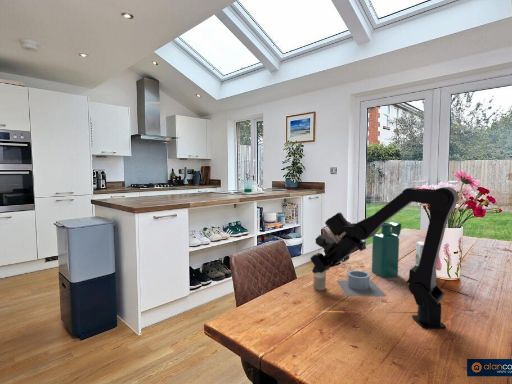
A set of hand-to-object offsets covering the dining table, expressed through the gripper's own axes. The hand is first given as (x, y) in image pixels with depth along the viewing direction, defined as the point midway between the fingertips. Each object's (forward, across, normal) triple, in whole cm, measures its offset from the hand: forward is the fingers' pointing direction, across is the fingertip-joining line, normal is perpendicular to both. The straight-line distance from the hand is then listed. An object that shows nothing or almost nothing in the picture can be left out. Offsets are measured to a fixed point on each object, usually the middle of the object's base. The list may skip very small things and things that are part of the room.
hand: (316, 270), depth 110 cm
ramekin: (-4, -12, +12) cm, 17 cm away
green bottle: (-5, -33, +14) cm, 36 cm away
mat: (-4, -10, +14) cm, 17 cm away
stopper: (+4, 0, +6) cm, 7 cm away
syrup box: (-14, -39, +24) cm, 48 cm away
